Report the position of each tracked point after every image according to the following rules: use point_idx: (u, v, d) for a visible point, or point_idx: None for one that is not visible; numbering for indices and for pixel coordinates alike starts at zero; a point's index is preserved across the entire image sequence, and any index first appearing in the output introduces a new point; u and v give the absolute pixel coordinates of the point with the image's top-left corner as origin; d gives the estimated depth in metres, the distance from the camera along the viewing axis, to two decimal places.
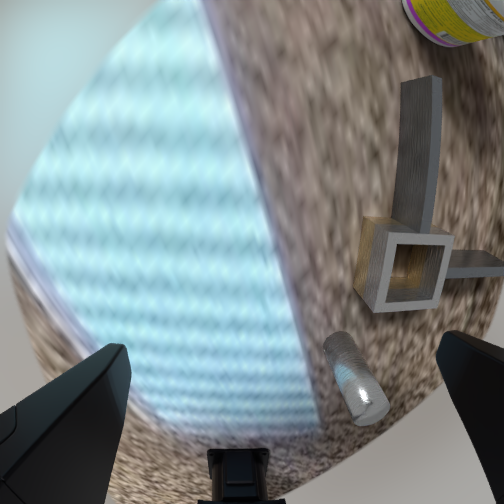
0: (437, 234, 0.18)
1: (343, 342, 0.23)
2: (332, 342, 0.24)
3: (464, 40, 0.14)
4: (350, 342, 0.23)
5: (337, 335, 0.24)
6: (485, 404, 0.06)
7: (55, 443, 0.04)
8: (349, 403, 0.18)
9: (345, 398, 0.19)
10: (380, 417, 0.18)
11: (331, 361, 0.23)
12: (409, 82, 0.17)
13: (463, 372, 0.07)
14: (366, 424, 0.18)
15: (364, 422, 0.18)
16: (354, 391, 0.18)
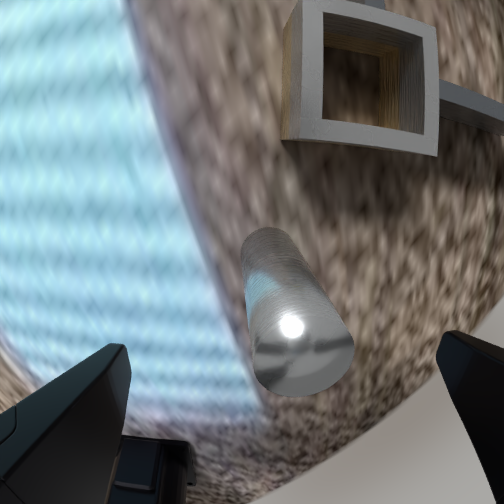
0: (402, 17, 0.08)
1: (268, 237, 0.13)
2: (251, 241, 0.14)
3: None
4: (282, 237, 0.13)
5: (262, 230, 0.14)
6: (485, 404, 0.06)
7: (55, 443, 0.04)
8: (250, 335, 0.08)
9: (249, 327, 0.09)
10: (333, 377, 0.08)
11: (243, 269, 0.13)
12: None
13: (463, 372, 0.07)
14: (298, 393, 0.08)
15: (289, 386, 0.08)
16: (262, 304, 0.09)
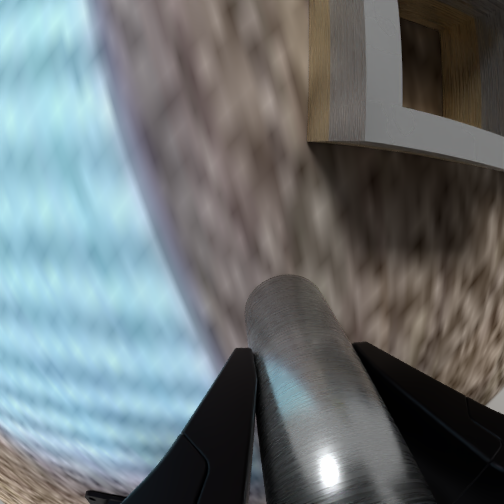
0: None
1: (289, 297, 0.08)
2: (261, 300, 0.09)
3: None
4: (310, 298, 0.08)
5: (278, 282, 0.09)
6: None
7: None
8: None
9: (265, 489, 0.04)
10: None
11: None
12: None
13: None
14: None
15: None
16: (294, 478, 0.04)
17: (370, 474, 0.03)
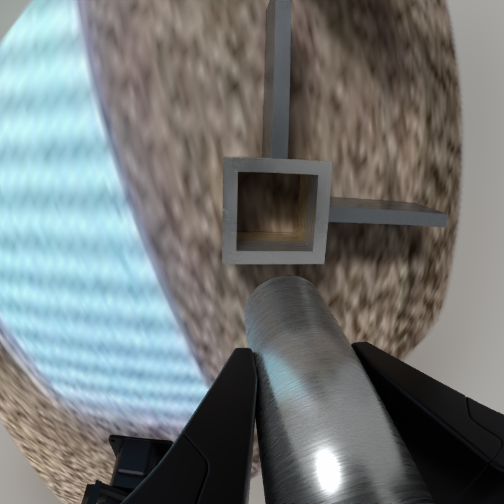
0: (302, 160, 0.15)
1: (288, 298, 0.08)
2: (260, 300, 0.09)
3: None
4: (309, 299, 0.08)
5: (278, 282, 0.09)
6: None
7: None
8: None
9: (264, 490, 0.04)
10: None
11: None
12: (268, 5, 0.15)
13: None
14: None
15: None
16: (293, 479, 0.04)
17: (369, 476, 0.03)
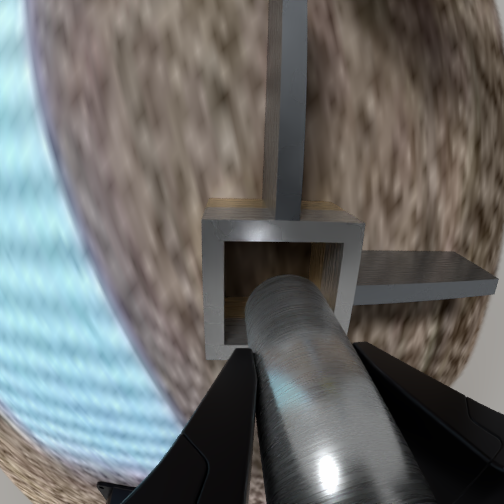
0: (322, 221, 0.10)
1: (289, 297, 0.08)
2: (261, 299, 0.09)
3: None
4: (310, 298, 0.08)
5: (278, 281, 0.09)
6: None
7: None
8: None
9: (265, 490, 0.04)
10: None
11: None
12: None
13: None
14: None
15: None
16: (295, 479, 0.04)
17: (371, 475, 0.03)
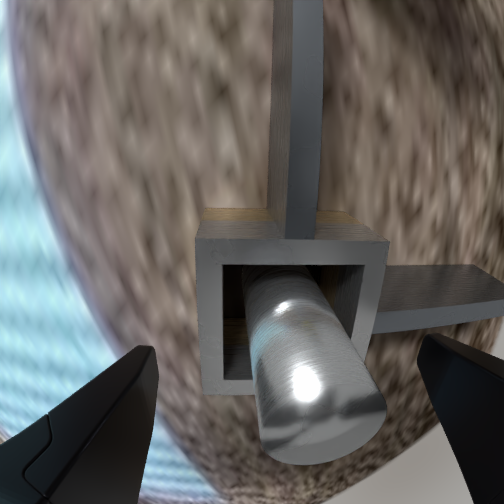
0: (340, 239, 0.09)
1: None
2: None
3: None
4: None
5: None
6: (466, 411, 0.06)
7: (95, 452, 0.04)
8: (256, 396, 0.06)
9: (253, 381, 0.07)
10: (357, 442, 0.06)
11: (245, 298, 0.11)
12: None
13: (443, 377, 0.07)
14: (314, 461, 0.06)
15: (304, 456, 0.06)
16: (271, 358, 0.06)
17: (321, 350, 0.06)
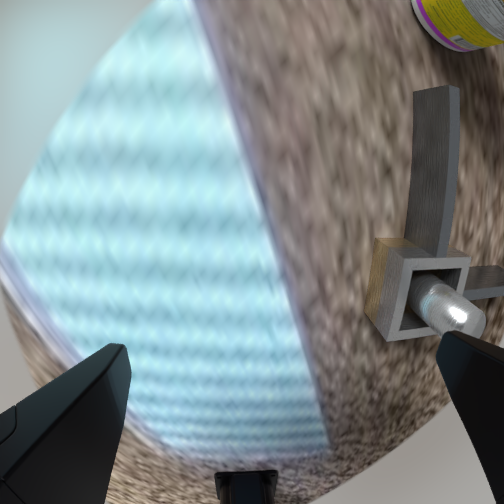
0: (454, 257, 0.16)
1: None
2: None
3: (479, 45, 0.13)
4: None
5: None
6: (485, 404, 0.06)
7: (55, 443, 0.04)
8: (442, 323, 0.14)
9: (434, 320, 0.15)
10: None
11: None
12: (423, 91, 0.16)
13: (463, 372, 0.07)
14: None
15: None
16: (446, 306, 0.14)
17: (464, 301, 0.14)
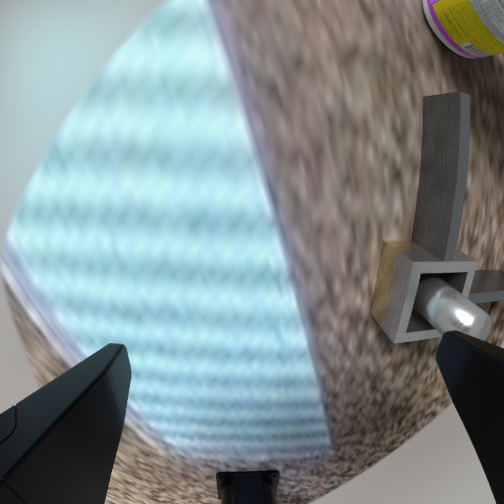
0: (460, 261, 0.17)
1: None
2: None
3: (489, 52, 0.13)
4: None
5: None
6: (485, 404, 0.06)
7: (55, 443, 0.04)
8: (449, 326, 0.14)
9: (441, 322, 0.15)
10: None
11: None
12: (433, 97, 0.16)
13: (463, 372, 0.07)
14: None
15: None
16: (453, 310, 0.14)
17: (470, 304, 0.14)
